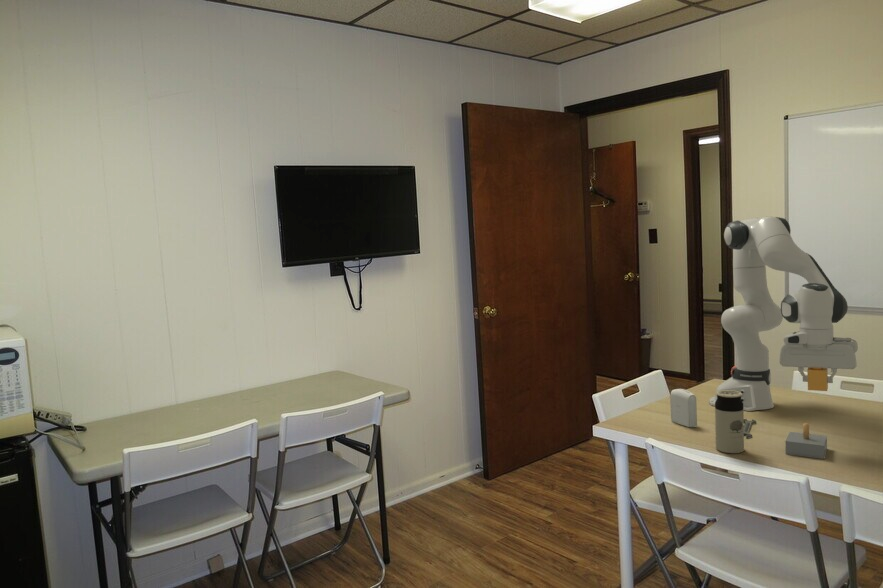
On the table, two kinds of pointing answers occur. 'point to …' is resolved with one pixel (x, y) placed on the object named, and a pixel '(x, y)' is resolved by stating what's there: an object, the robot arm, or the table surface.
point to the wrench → (748, 428)
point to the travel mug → (729, 421)
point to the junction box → (806, 444)
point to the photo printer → (683, 407)
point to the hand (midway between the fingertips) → (817, 382)
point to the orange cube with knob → (817, 379)
